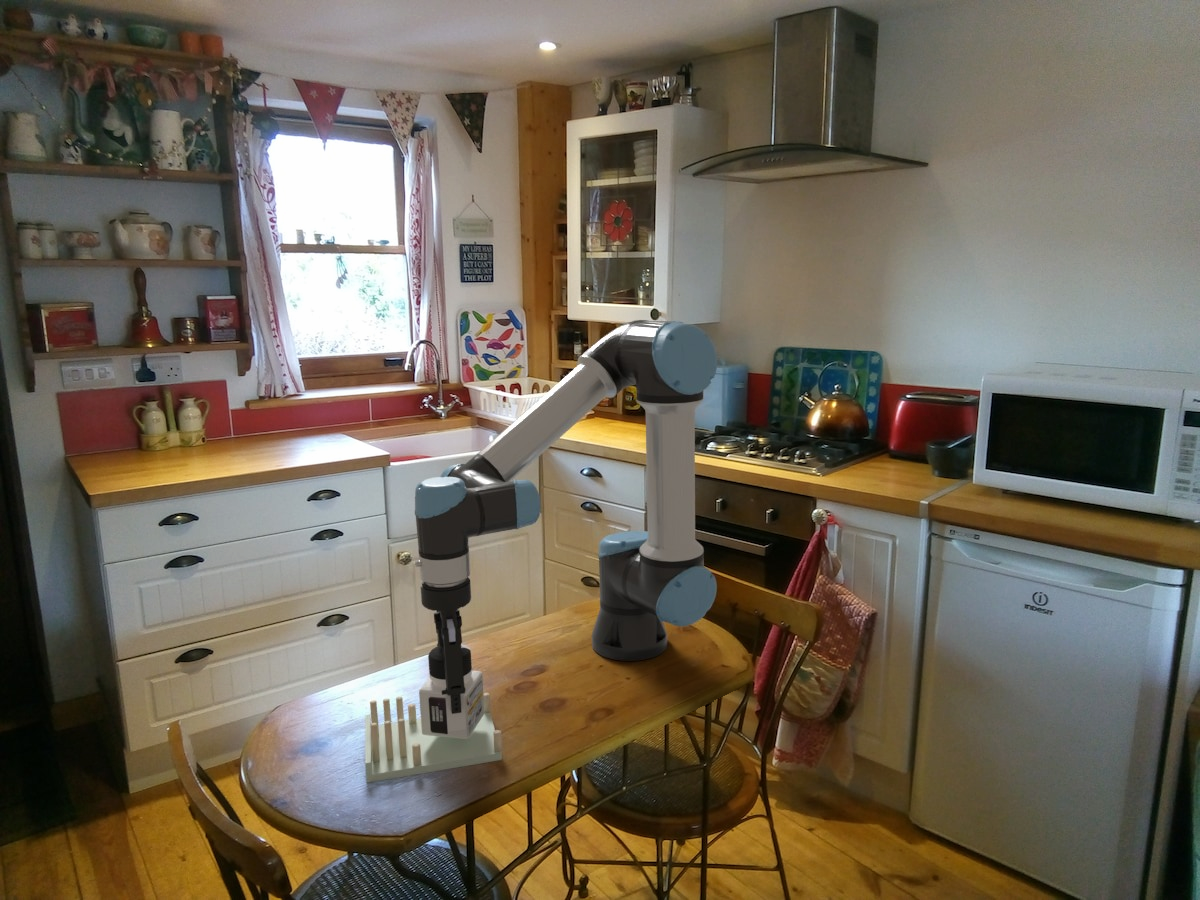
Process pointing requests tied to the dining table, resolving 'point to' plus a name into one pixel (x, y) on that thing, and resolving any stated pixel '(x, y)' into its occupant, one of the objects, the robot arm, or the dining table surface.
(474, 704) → the container
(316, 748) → the dining table surface
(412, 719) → the dish rack
